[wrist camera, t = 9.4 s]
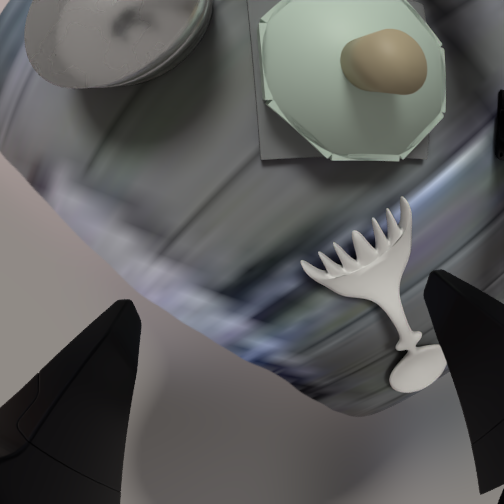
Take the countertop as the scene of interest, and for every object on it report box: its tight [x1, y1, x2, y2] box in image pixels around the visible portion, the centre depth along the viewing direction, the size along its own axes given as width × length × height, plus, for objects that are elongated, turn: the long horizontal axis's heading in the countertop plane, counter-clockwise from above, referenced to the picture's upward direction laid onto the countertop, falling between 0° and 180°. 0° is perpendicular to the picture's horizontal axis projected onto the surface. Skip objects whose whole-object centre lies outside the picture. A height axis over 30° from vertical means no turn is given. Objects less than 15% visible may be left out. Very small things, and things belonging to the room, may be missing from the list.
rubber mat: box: [247, 0, 429, 160], centre depth 14 cm, size 12×12×1 cm
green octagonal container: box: [257, 0, 446, 161], centre depth 11 cm, size 11×11×6 cm
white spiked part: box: [301, 196, 447, 393], centre depth 25 cm, size 9×32×4 cm, turn 37°
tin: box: [25, 0, 213, 89], centre depth 9 cm, size 10×10×5 cm
